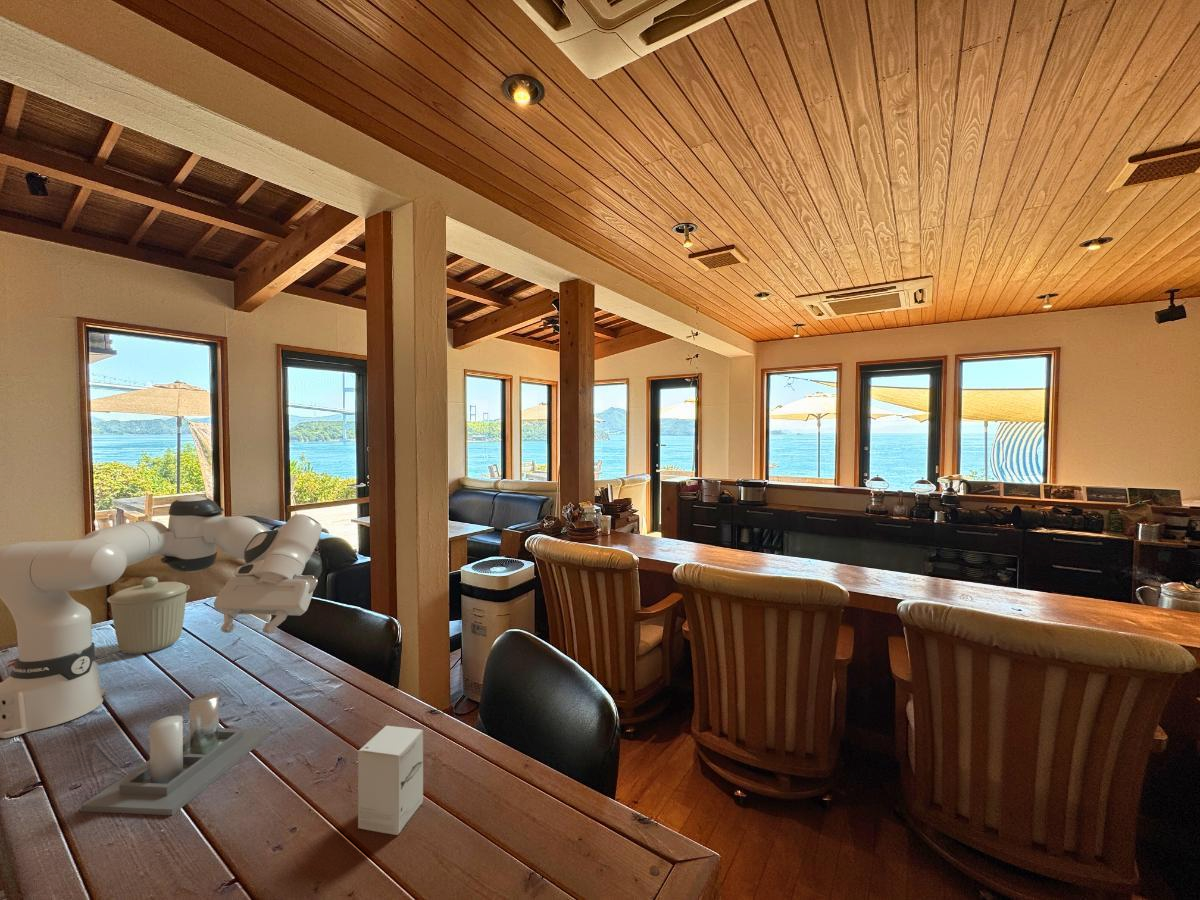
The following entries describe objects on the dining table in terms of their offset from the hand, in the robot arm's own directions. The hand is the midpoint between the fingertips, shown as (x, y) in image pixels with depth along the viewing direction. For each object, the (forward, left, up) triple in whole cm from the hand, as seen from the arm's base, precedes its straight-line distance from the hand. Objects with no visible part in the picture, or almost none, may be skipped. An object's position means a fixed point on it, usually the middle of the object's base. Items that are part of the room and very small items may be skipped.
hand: (246, 632), depth 105 cm
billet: (0, -11, -19) cm, 22 cm away
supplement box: (+44, -24, -20) cm, 54 cm away
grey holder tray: (0, -15, -20) cm, 25 cm away
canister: (-60, +36, -20) cm, 73 cm away
